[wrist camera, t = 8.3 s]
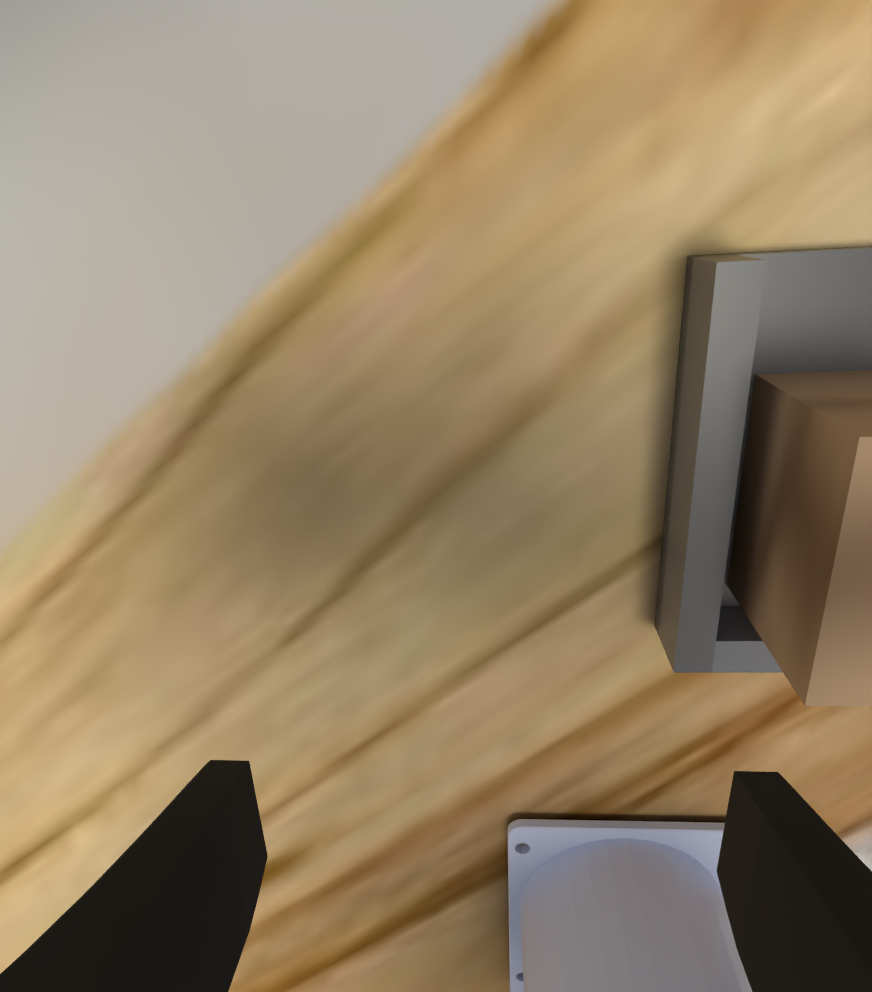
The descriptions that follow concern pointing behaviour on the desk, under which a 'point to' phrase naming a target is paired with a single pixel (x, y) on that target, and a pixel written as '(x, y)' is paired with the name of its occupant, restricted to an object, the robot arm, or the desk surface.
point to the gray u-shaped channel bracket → (741, 423)
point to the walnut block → (809, 531)
